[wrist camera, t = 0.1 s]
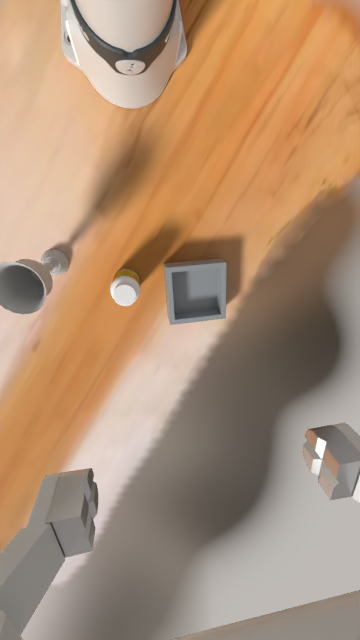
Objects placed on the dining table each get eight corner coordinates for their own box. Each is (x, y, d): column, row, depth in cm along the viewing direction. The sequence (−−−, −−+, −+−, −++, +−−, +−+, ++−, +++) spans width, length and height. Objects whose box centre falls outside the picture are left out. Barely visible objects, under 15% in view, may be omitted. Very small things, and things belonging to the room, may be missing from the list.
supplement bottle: (132, 264, 54) (132, 275, 45) (143, 287, 56) (145, 302, 47) (108, 274, 54) (103, 287, 45) (120, 297, 56) (117, 314, 47)
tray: (163, 263, 55) (165, 267, 51) (219, 258, 56) (226, 262, 52) (168, 316, 59) (170, 324, 55) (219, 310, 61) (225, 318, 57)
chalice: (82, 269, 53) (58, 297, 36) (54, 287, 53) (18, 323, 37) (56, 236, 50) (17, 251, 33) (27, 256, 50) (-26, 279, 34)
